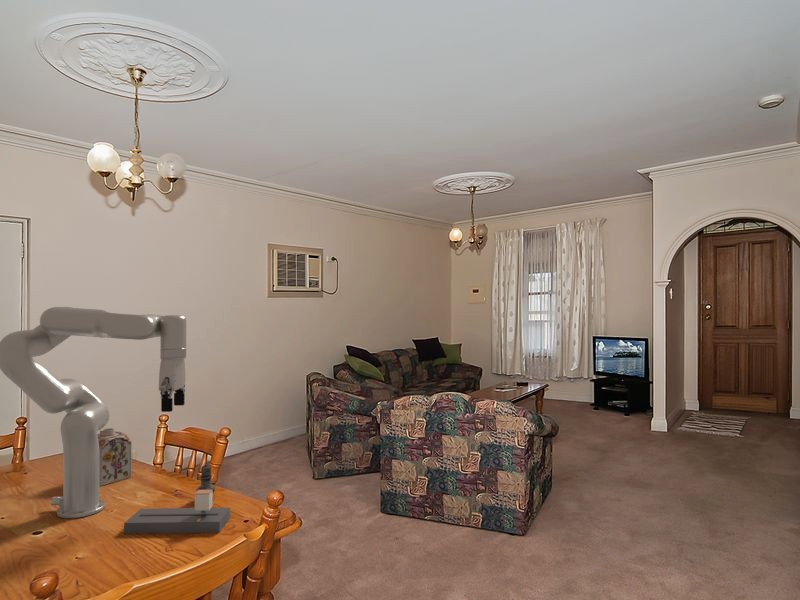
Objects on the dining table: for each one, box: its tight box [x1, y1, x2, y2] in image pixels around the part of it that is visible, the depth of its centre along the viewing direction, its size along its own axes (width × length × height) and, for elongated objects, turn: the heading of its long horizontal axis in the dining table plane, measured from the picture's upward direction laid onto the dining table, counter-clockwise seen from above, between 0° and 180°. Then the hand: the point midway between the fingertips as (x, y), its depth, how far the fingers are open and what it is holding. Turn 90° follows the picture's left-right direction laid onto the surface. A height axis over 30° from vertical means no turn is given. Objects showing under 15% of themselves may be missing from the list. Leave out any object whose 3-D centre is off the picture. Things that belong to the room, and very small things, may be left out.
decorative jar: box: [97, 427, 133, 487], centre depth 189 cm, size 12×12×18 cm
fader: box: [194, 490, 214, 515], centre depth 150 cm, size 4×3×6 cm
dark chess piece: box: [195, 462, 216, 494], centre depth 170 cm, size 6×6×12 cm
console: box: [123, 507, 231, 535], centre depth 150 cm, size 26×10×3 cm, turn 92°
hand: (173, 408), depth 165 cm, fingers open, 9 cm apart
